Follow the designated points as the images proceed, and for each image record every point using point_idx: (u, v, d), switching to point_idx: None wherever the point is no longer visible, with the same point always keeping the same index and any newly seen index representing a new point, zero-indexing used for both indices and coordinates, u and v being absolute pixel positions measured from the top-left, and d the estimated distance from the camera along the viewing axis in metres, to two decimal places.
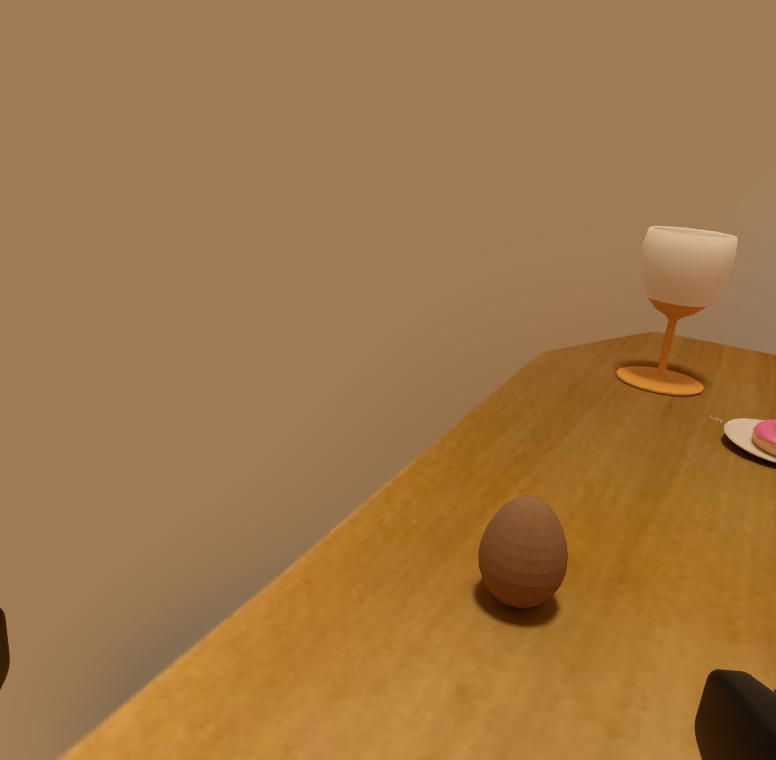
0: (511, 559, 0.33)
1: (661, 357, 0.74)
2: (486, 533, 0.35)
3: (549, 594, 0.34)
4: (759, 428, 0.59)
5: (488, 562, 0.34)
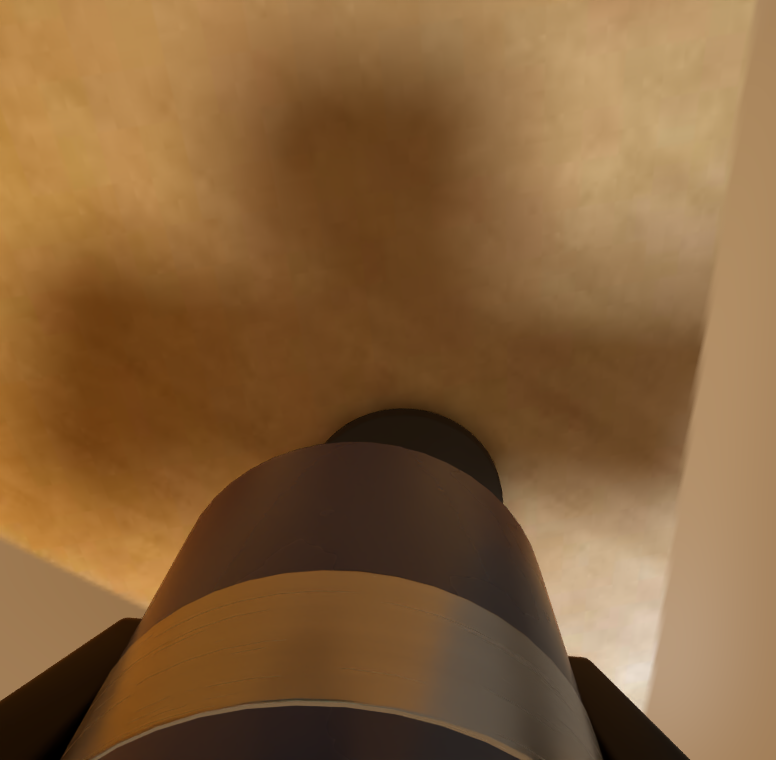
0: None
1: None
2: None
3: None
4: None
5: None
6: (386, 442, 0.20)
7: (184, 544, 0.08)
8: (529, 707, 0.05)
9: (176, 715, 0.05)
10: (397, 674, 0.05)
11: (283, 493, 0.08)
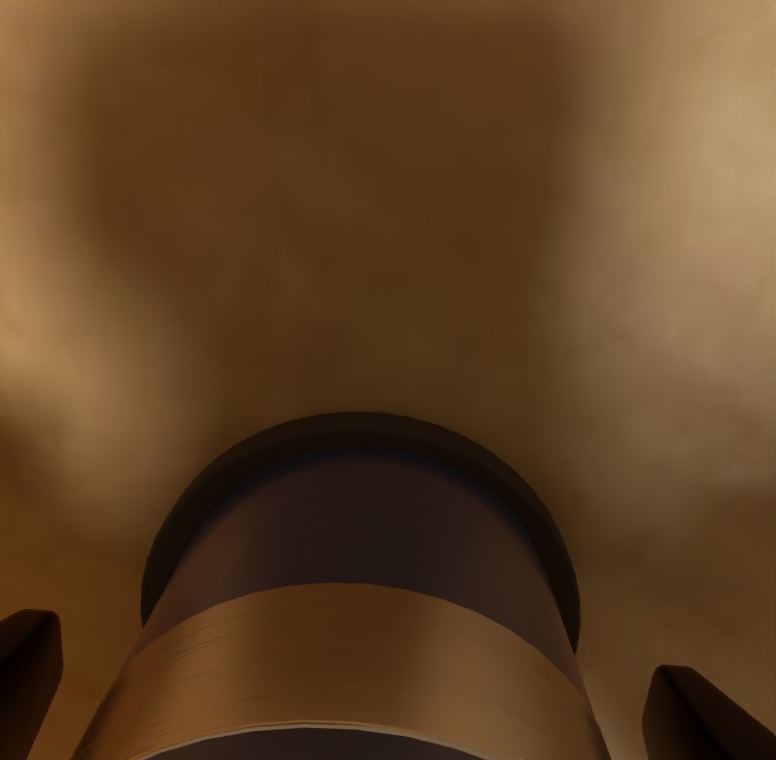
0: None
1: None
2: None
3: None
4: None
5: None
6: None
7: (186, 551, 0.08)
8: (543, 726, 0.05)
9: (179, 737, 0.05)
10: (408, 693, 0.05)
11: (287, 501, 0.07)
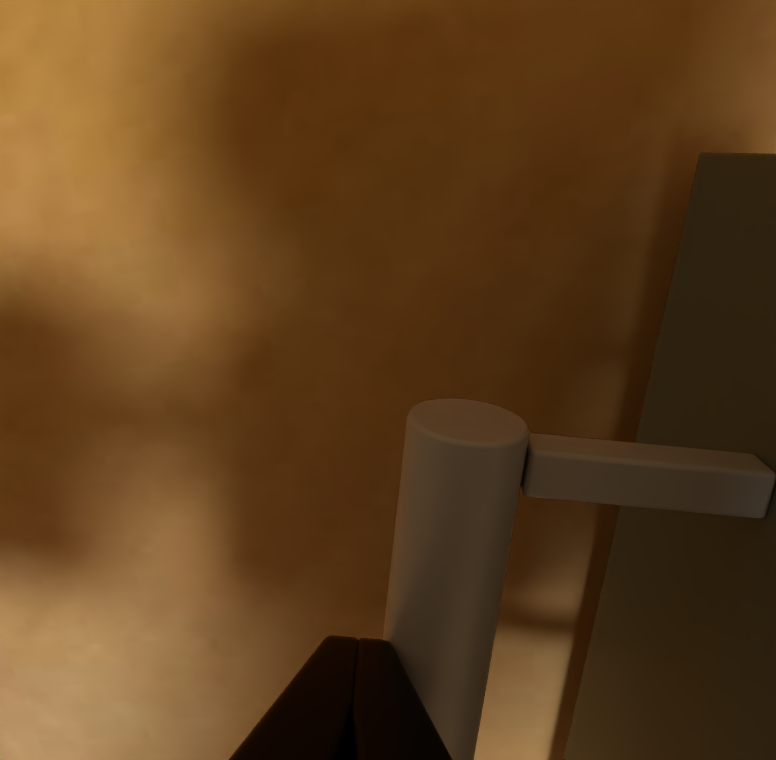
0: None
1: None
2: None
3: None
4: None
5: None
6: None
7: None
8: None
9: None
10: None
11: None
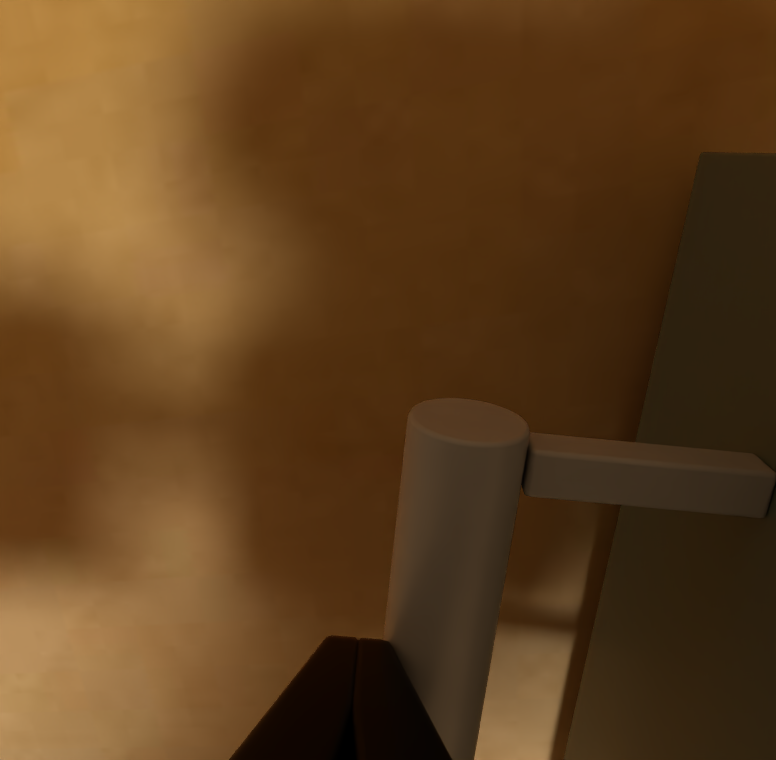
0: None
1: None
2: None
3: None
4: None
5: None
6: None
7: None
8: None
9: None
10: None
11: None
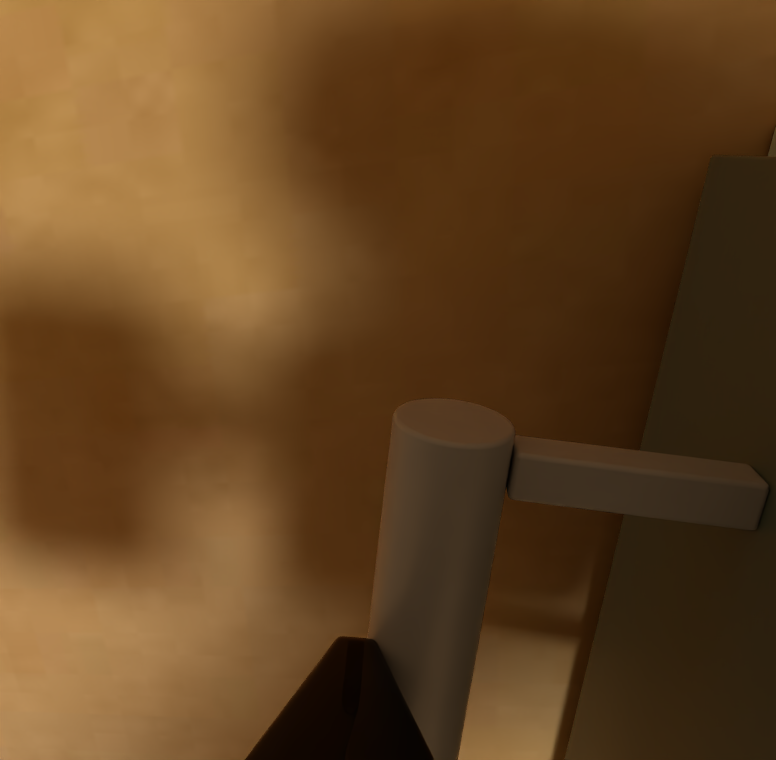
0: None
1: None
2: None
3: None
4: None
5: None
6: None
7: None
8: None
9: None
10: None
11: None
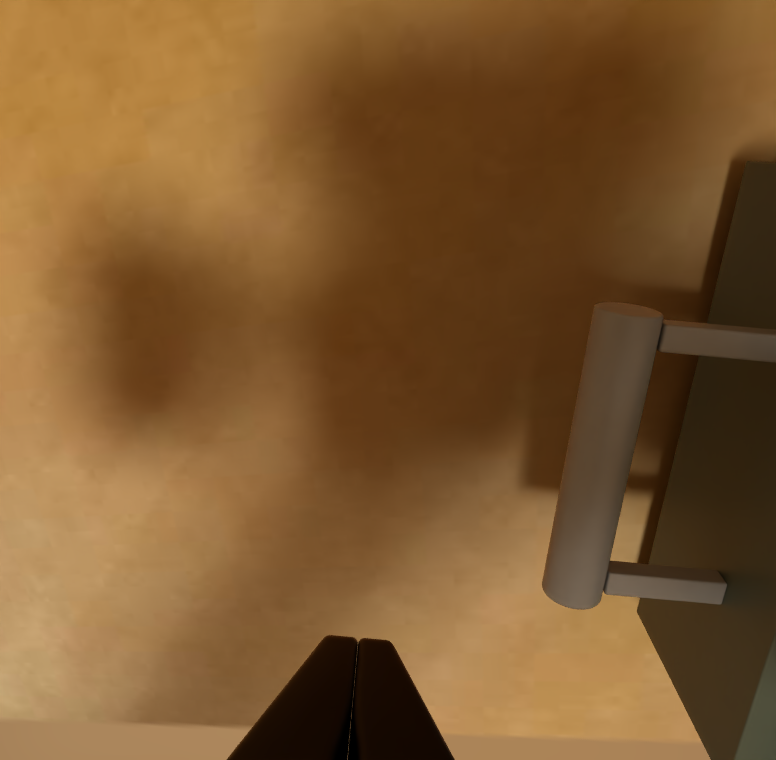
0: None
1: None
2: None
3: None
4: None
5: None
6: None
7: None
8: None
9: None
10: None
11: None
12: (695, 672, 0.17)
